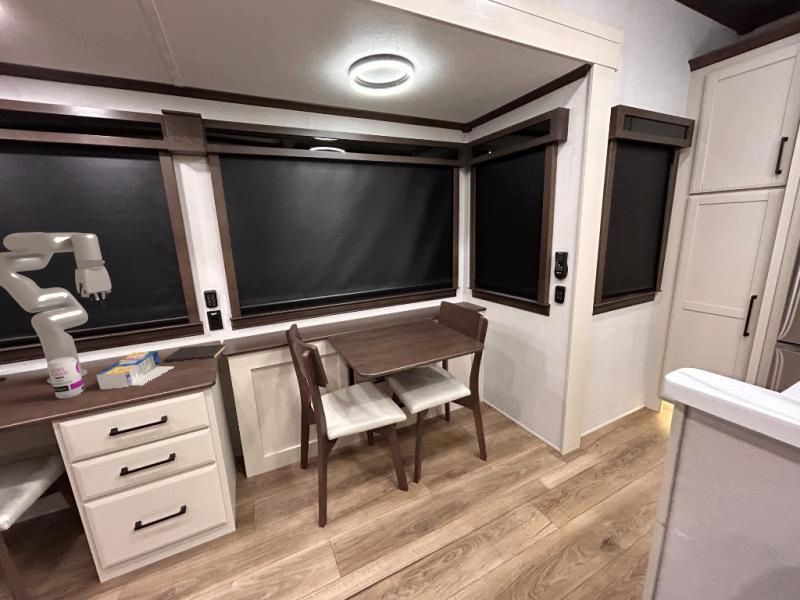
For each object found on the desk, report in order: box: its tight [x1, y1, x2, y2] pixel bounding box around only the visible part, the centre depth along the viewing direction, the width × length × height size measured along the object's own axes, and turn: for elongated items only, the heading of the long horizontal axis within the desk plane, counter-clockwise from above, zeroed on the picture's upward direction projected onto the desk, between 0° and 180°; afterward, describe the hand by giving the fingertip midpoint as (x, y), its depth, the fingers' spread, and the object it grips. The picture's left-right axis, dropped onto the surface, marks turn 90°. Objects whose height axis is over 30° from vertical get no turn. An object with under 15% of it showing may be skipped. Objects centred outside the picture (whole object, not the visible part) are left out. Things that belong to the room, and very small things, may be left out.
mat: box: [130, 365, 175, 387], centre depth 142 cm, size 18×18×1 cm
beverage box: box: [96, 350, 162, 390], centre depth 141 cm, size 7×11×22 cm
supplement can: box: [46, 357, 86, 400], centre depth 125 cm, size 8×8×15 cm
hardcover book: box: [164, 343, 226, 363], centre depth 165 cm, size 16×23×2 cm
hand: (100, 308), depth 129 cm, fingers closed
